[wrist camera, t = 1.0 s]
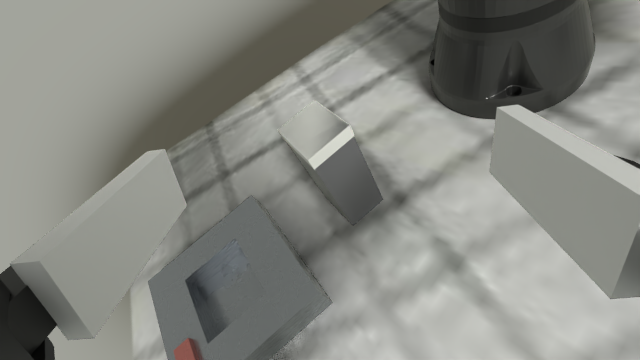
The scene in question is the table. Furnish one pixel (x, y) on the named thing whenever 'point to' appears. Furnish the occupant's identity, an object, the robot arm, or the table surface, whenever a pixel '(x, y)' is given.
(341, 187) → the plug
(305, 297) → the socket block
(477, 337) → the table surface
